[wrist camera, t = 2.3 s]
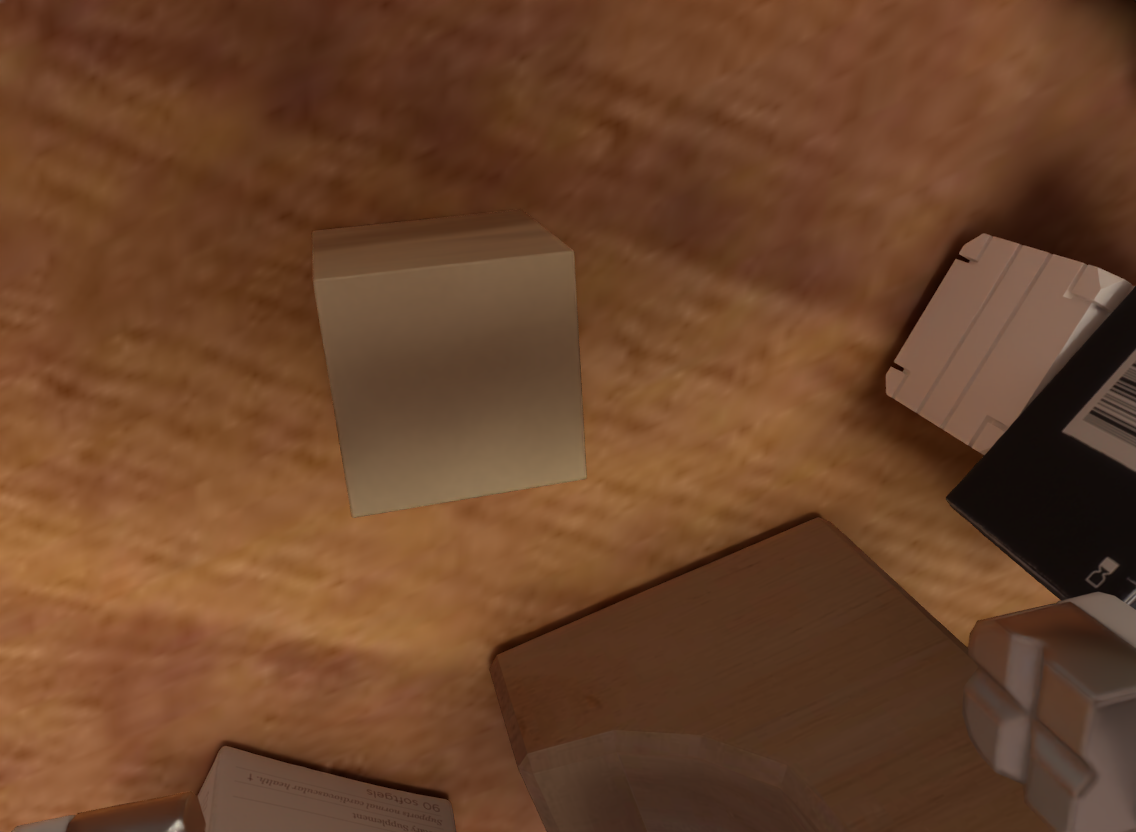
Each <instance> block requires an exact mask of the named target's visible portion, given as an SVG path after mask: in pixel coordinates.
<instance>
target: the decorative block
mask: <svg viewBox="0 0 1136 832" xmlns="http://www.w3.org/2000/svg"><path fill="white" fill-rule="evenodd" d="M977 667H978V666H977V665H976V664H975V662H974V661H973V660H972V658H971V657H970V656H969V654H968V648H967V647H966V646H965V645H964V644H962V643H961V642H960V641H959V640H958V639H957V638H956V637H955V636H954V635H953V634H952V633H950V632H949V631H948V630H947V629H946V628H945V627H944V626H943V625H942V624H941V623H940V622H938V621H937V620H936V619H935V618H934V617H933V616H932V615H931V614H930V613H929V612H928V611H926V610H925V609H924V608H923V607H922V606H921V605H920V604H919V603H918V602H917V601H916V600H915V599H913V598H912V597H911V596H910V595H909V594H908V593H907V592H906V591H905V590H904V589H903V588H902V587H901V586H899V585H898V584H897V583H896V582H895V581H894V580H893V579H892V578H891V577H890V576H889V575H888V574H886V573H885V572H884V571H883V570H882V569H881V568H880V567H879V566H878V565H877V564H876V563H875V562H873V561H872V560H871V559H870V558H869V557H868V556H867V555H866V554H865V553H864V552H863V551H862V550H860V549H859V548H858V547H857V546H856V545H855V544H854V543H853V542H852V541H851V540H850V539H849V538H848V537H846V536H845V535H844V534H843V533H842V532H841V531H840V530H839V529H838V528H837V527H836V526H835V525H833V524H832V523H831V522H829V521H827V520H824V519H822V518H819V517H817V518H815V519H813V520H810V521H808V522H805V523H803V524H801V525H798V526H796V527H794V528H791V529H789V530H787V531H784V532H782V533H780V534H777V535H775V536H773V537H770V538H768V539H765V540H763V541H761V542H758V543H756V544H754V545H751V546H749V547H747V548H744V549H742V550H740V551H737V552H735V553H733V554H730V555H728V556H726V557H723V558H721V559H718V560H716V561H714V562H711V563H709V564H707V565H704V566H702V567H700V568H697V569H695V570H693V571H690V572H688V573H686V574H683V575H681V576H678V577H676V578H674V579H671V580H669V581H667V582H664V583H662V584H660V585H657V586H655V587H653V588H650V589H648V590H646V591H643V592H641V593H639V594H636V595H634V596H632V597H630V598H627V599H625V600H623V601H620V602H618V603H616V604H613V605H611V606H609V607H606V608H604V609H602V610H600V611H597V612H595V613H593V614H590V615H588V616H586V617H583V618H581V619H579V620H576V621H574V622H572V623H570V624H567V625H565V626H563V627H560V628H558V629H556V630H553V631H551V632H549V633H546V634H544V635H542V636H539V637H537V638H535V639H533V640H530V641H528V642H526V643H523V644H521V645H519V646H516V647H514V648H512V649H509V650H507V651H505V652H503V653H500V654H498V655H497V656H496V658H495V659H494V661H493V663H492V665H491V667H490V669H489V670H490V673H491V677H492V680H493V684H494V687H495V691H496V694H497V698H498V701H499V704H500V708H501V711H502V715H503V718H504V722H505V725H506V729H507V732H508V736H509V739H510V742H511V746H512V749H513V753H514V756H515V760H516V763H517V767H518V769H519V771H520V774H521V776H522V778H523V780H524V782H525V785H526V787H527V789H528V791H529V793H530V796H531V798H532V800H533V802H534V804H535V807H536V809H537V811H538V813H539V815H540V817H541V820H542V822H543V824H544V826H545V828H546V831H547V832H1052V831H1051V830H1050V829H1049V828H1048V827H1047V826H1046V825H1045V824H1044V823H1043V822H1042V821H1041V819H1040V818H1039V817H1038V816H1037V815H1036V814H1035V813H1034V812H1033V811H1032V810H1031V809H1030V808H1029V807H1028V806H1027V805H1026V804H1025V803H1024V793H1023V784H1021V783H1019V782H1016V781H1014V780H1012V779H1009V778H1007V777H1005V776H1002V775H1000V774H998V773H996V772H995V771H994V770H993V769H992V768H991V767H990V766H989V765H988V764H987V763H986V762H985V761H984V759H983V758H982V757H981V756H980V755H979V753H978V751H977V750H976V748H975V746H974V745H973V743H972V741H971V740H970V738H969V735H968V731H967V728H966V724H965V721H964V718H963V714H962V706H963V690H964V686H965V684H966V683H967V682H968V680H969V679H970V677H971V676H972V675H973V673H974V672H975V670H976V669H977Z"/></svg>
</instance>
